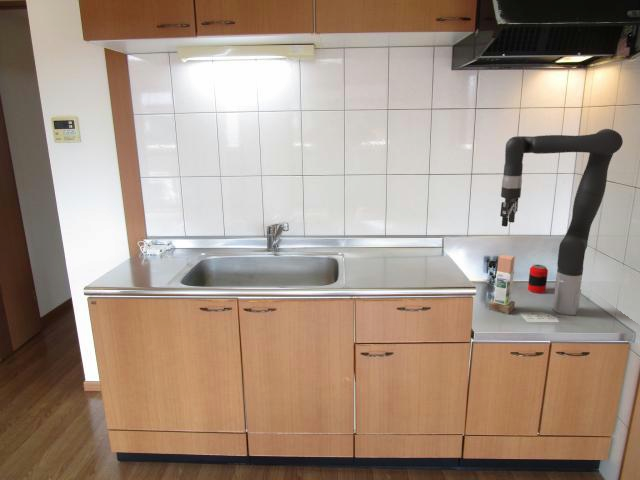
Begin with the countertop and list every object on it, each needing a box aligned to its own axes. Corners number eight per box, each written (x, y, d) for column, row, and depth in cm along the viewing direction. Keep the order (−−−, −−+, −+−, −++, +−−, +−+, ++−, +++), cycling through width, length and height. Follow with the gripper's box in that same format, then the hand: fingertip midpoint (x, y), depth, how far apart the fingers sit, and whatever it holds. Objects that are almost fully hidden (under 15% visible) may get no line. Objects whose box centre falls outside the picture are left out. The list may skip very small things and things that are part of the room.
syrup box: (493, 303, 192) (496, 271, 188) (497, 298, 196) (500, 267, 192) (507, 306, 188) (510, 273, 184) (511, 301, 193) (514, 269, 189)
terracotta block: (513, 270, 189) (514, 256, 187) (509, 273, 185) (510, 259, 184) (501, 267, 192) (502, 254, 190) (497, 270, 188) (498, 257, 187)
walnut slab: (514, 308, 194) (514, 301, 193) (508, 314, 188) (508, 307, 187) (495, 303, 199) (496, 297, 198) (488, 309, 193) (489, 303, 192)
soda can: (542, 287, 215) (544, 264, 212) (547, 293, 208) (550, 269, 205) (525, 287, 216) (528, 263, 213) (530, 293, 209) (533, 269, 206)
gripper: (507, 183, 193) (504, 219, 197) (496, 187, 182) (493, 226, 186) (526, 184, 188) (522, 222, 192) (515, 189, 177) (511, 228, 182)
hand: (507, 224), depth 189 cm, fingers open, 8 cm apart
